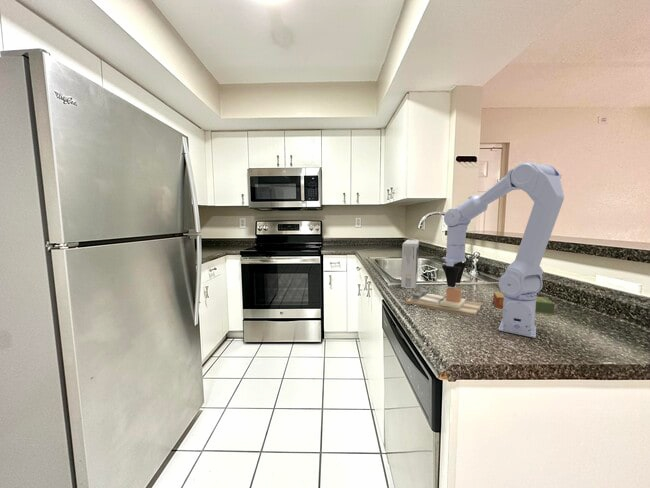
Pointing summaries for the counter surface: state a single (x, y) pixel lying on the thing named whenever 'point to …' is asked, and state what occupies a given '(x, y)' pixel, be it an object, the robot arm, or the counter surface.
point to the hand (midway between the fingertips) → (454, 284)
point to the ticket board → (434, 303)
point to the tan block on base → (453, 298)
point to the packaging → (409, 263)
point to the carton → (541, 304)
